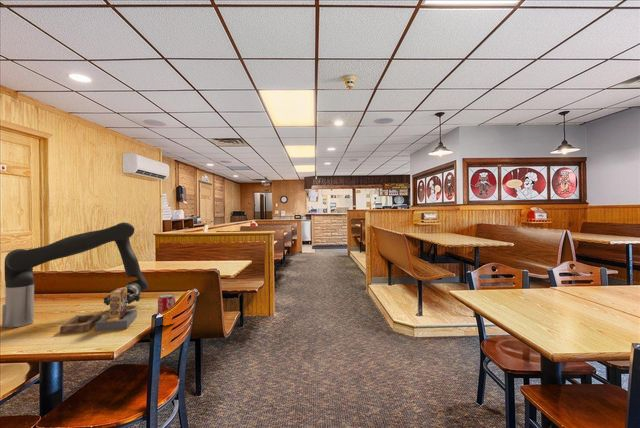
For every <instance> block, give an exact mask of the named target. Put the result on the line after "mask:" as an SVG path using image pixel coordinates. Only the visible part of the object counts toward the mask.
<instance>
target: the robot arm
mask: <svg viewBox="0 0 640 428" xmlns="http://www.w3.org/2000/svg"><path fill="white" fill-rule="evenodd" d="M134 234H135V226H134V225H133V224H131V223H130V222H125V221H124V222H120V223H117V224H115V225H112V226H110V227H107V228H102V229H99V230H93V231H92V230H91V231H87V232H82V233H78V234H74V235H70V236H66V237H64V238H62V239H61V238H60V239H59V240H56V241H55V242H52V243H49V244H47V245H43V246H39V247H34V248H29V249H24V248H23V249H22V248H17V249H13V250H11V251H9V252H8V253H7V254H6V256H5V258H4V281H5V282H4V283H5V286H4V287H5V289H4V291H5V292H4V294H5V296H4V297H5V298H4V300H5V301H4V304H3V305H2V309H1V310H2V311H1V312H2V313H1V328H10V329H11V328H18V327H23V326H27V325H31V324H33V323H34V321H35V320H34V318H35V314H34V313H35V312H34V311H35V310H34V309H35V277H34V269H33V268H35V267H38V266H41V265H43V264H45V263H47V262H48V263H49V262H51V261H55V260H59V259H62V258H63V259H64V258H67V257H72V256H74V255H78V254H81V253H84V252H88V251H90V250H93V249H96V248H98V247H101V246H103V245H105V244H108V243H112V242H115V244H116V247H117V249H118V251H119V254H120V258H121V262H122V265H123V269H124V272H125V276H126V277H128V278H136V280H131V281H128V282H126V283H125V284H126V285H125V286H124V287H123V288H127V303H126V304H129V305H130V304H132V303H134V302H139V301H140V300H141V298H142V296H141V293H142V292H145V291H147V290H148V288H149V283H148V281H147V279H146V278H145V276H144V275H143V273H142V271H141V268H140V264H139V260H138V258H137V256H136V254H135V252H134V250H133V249H132V245H131V243H130V242H131V241H130V238H131V237H132V236H133V235H134ZM103 304H104V305H105V306H110V294H109V295H106V296H104V297H103Z"/></svg>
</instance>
